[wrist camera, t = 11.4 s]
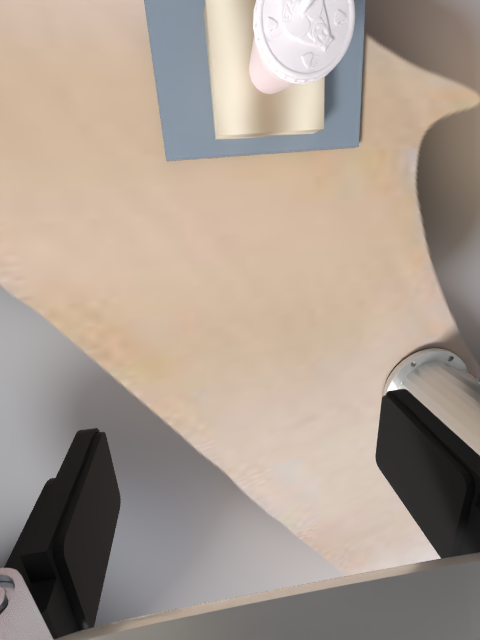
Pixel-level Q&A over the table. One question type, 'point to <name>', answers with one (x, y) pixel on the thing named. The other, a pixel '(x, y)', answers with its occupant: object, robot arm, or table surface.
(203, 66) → the board
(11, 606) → the robot arm
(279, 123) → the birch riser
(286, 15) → the smoothie
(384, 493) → the table surface
